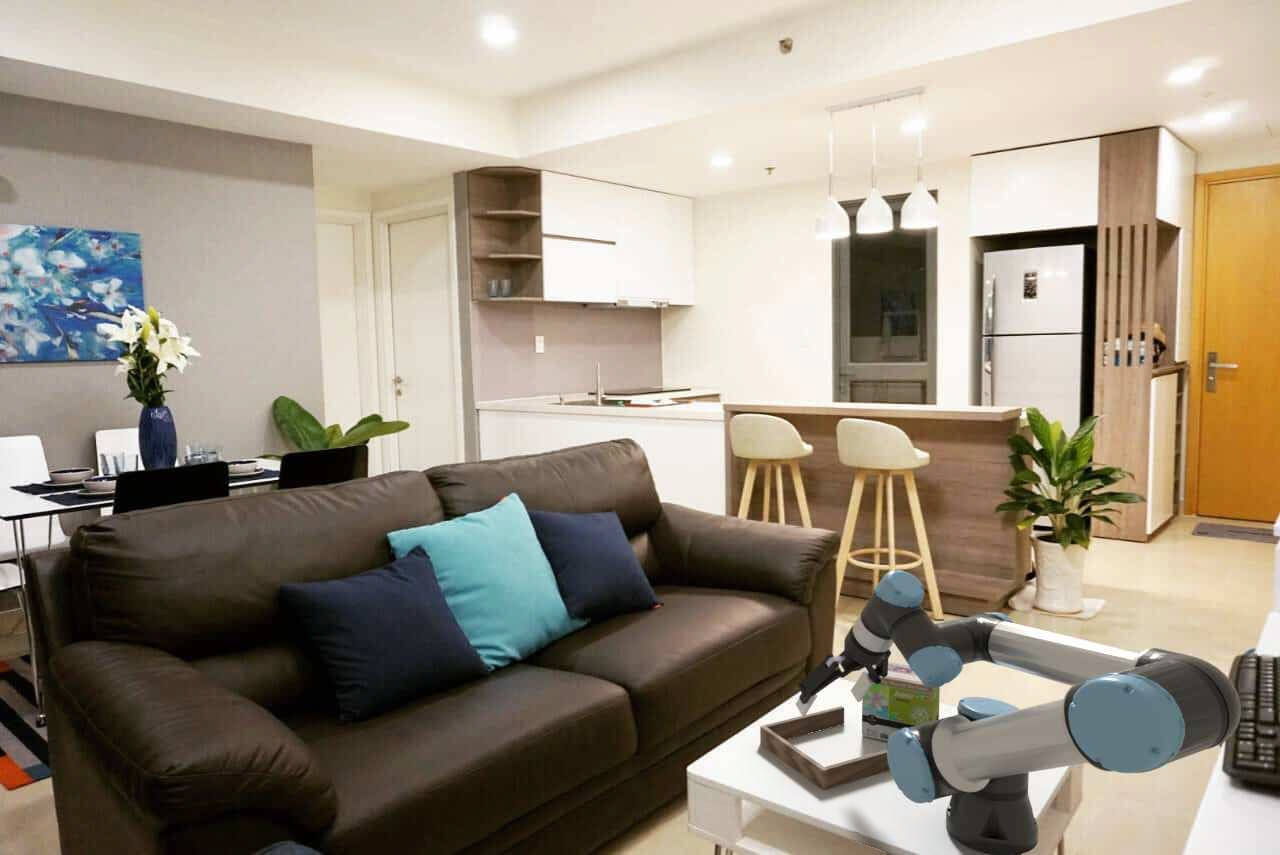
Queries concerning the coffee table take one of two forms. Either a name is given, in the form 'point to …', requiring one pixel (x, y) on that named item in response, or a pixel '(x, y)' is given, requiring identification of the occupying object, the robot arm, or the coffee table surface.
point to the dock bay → (822, 776)
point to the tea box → (898, 703)
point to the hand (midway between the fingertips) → (828, 702)
